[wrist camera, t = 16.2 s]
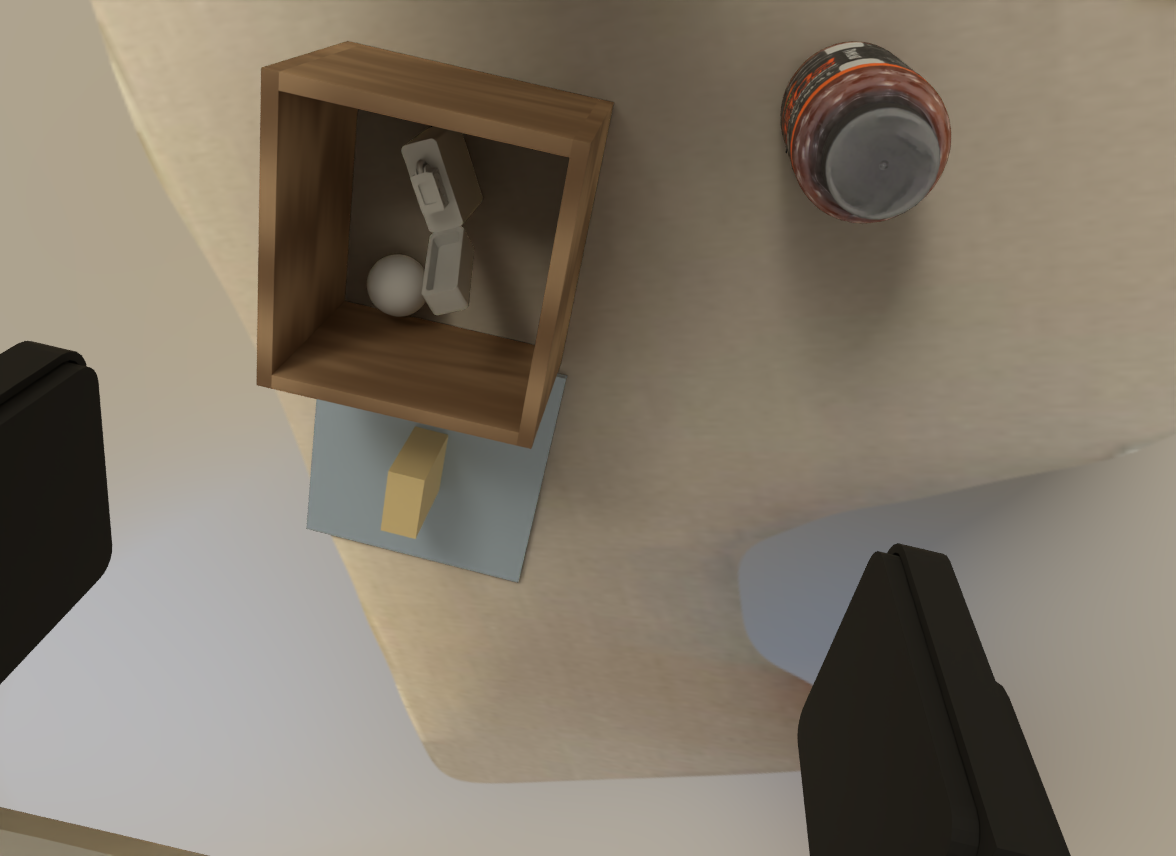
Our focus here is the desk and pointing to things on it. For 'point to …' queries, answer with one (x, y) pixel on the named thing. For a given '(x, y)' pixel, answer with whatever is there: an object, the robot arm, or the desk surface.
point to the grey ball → (396, 285)
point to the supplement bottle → (864, 132)
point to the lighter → (444, 214)
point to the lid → (427, 487)
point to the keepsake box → (322, 224)
